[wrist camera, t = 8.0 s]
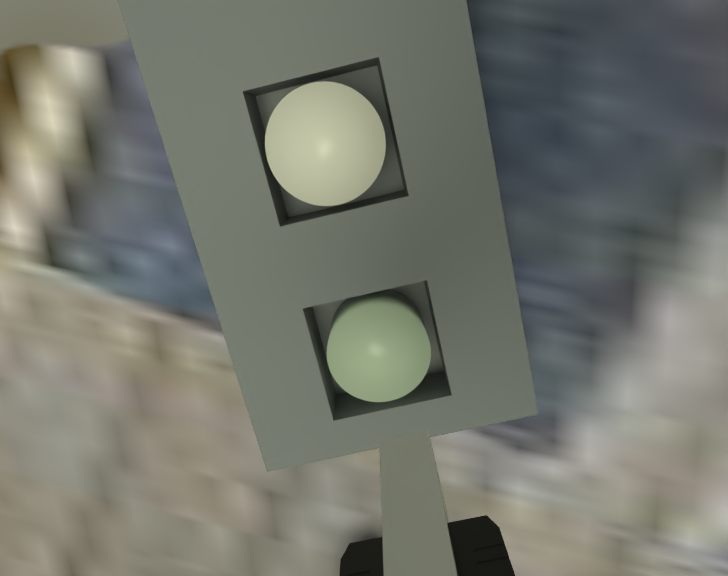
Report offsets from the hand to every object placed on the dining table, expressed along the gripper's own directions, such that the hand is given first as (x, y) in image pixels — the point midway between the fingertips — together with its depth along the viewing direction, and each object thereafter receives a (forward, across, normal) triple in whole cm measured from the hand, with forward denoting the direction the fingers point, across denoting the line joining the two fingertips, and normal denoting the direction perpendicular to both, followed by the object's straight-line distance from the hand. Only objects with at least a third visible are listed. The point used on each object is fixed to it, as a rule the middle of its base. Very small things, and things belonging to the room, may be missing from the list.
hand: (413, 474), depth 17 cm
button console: (+17, +1, -10) cm, 19 cm away
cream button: (+12, +1, -10) cm, 16 cm away
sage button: (+13, +1, 0) cm, 13 cm away
